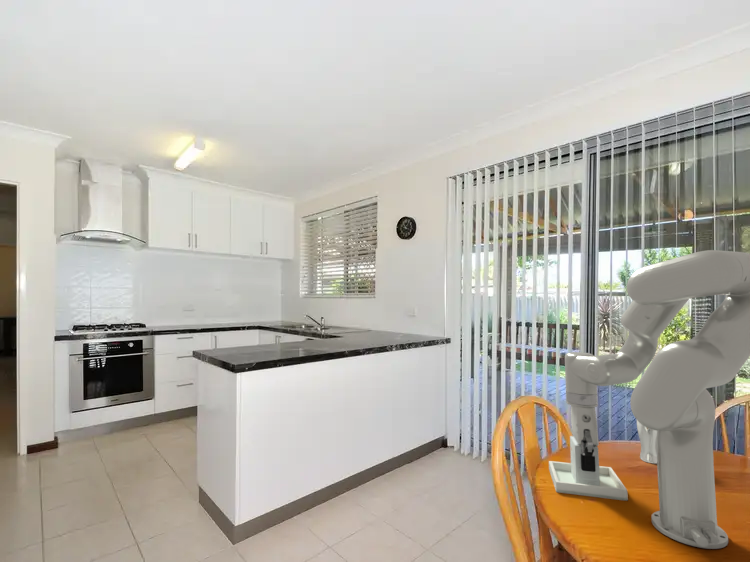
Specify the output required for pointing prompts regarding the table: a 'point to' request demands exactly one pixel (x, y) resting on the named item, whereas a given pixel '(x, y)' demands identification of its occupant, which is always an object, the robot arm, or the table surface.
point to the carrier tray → (607, 489)
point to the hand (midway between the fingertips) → (584, 463)
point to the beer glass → (647, 444)
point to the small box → (576, 470)
